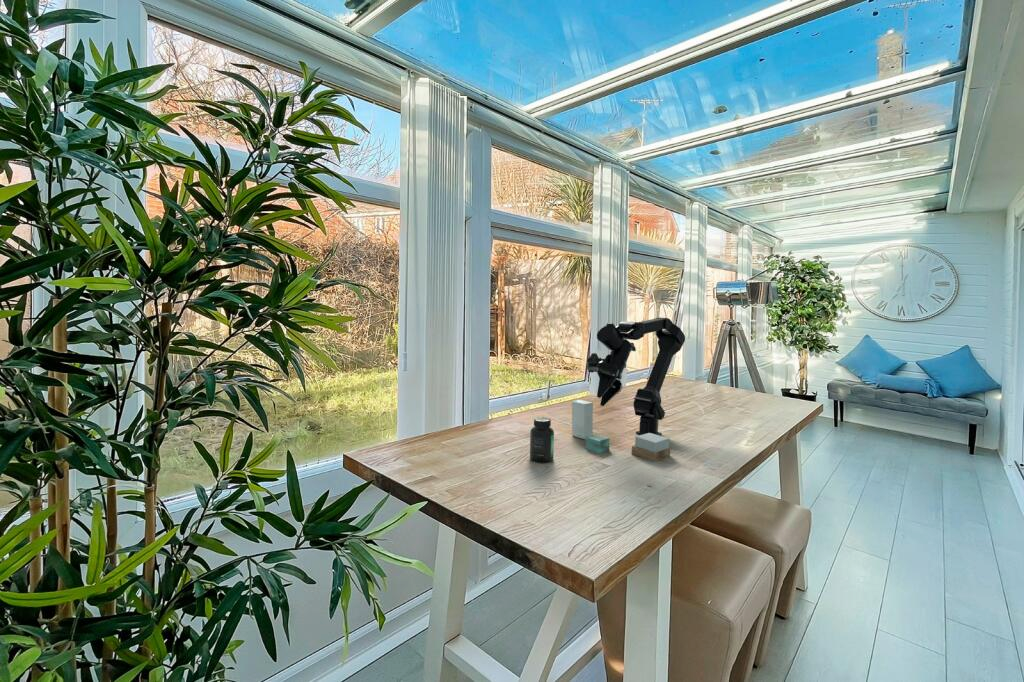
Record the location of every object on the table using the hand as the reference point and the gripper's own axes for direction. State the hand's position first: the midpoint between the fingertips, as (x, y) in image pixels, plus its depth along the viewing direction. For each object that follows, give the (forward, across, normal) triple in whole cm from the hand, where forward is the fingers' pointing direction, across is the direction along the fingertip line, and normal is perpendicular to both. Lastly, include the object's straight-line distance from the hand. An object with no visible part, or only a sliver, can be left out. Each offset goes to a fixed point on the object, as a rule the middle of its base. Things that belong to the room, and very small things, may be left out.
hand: (600, 401), depth 141 cm
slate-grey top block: (+6, -6, +18) cm, 20 cm away
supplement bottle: (+24, +6, -8) cm, 26 cm away
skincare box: (+10, -17, -5) cm, 20 cm away
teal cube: (+13, -7, +4) cm, 15 cm away
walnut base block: (+9, -8, +19) cm, 22 cm away
